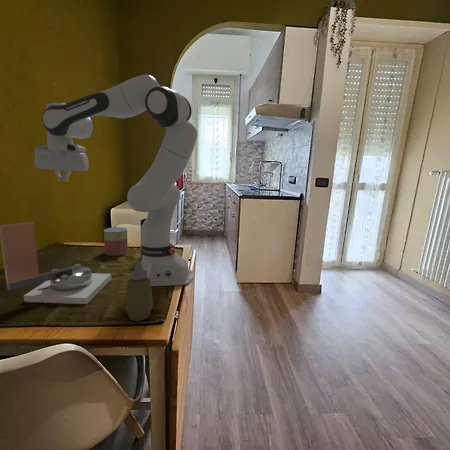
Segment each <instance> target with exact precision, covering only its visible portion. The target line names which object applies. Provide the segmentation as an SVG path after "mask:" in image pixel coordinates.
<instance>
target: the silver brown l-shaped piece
mask: <svg viewBox="0 0 450 450" xmlns="http://www.w3.org/2000/svg"><path fill="white" fill-rule="evenodd" d="M36 240H37V239H36V233H35V224H34V222H32V221H29V222H28V221H27V222H17V223H10V224H0V245H1V253H2V259H3V267H4V274H5V275H4V277H5V283H6V288H7V290H8V291H13V290H16V289H20V288H25V287H28V286H32V285H36V284H42V283H44V282H46V281H48V280H50V287H51V289H53V290H55V291H73V290H77V289H81V288H84V287H86V286H88V285H89V284H91V282H92V273H93V272H92V269H91V268H89V267H86V266H82V264H80V263H76V264H73V266H68V267H63V268H54V269H51V271H46V272H42V273H40V271H39V261H38V252H37V251H38V250H37V243H36V242H37V241H36Z"/></svg>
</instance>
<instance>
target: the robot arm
mask: <svg viewBox="0 0 450 450" xmlns="http://www.w3.org/2000/svg"><path fill="white" fill-rule="evenodd" d="M192 109H193V108H192V106H191V103H190V102H189V100H188V99H187V98H186V97H184V96H183V95H182V94H181V93H180V92H178V91H176V90H174V89H171V88H169V87H167V86H161V85H160V84H159V82H158V81H157V79H156V78H155V77H153V76H152V75H150V74H142V75H139V76H136V77H135V76H134V77H132V78H129V79H127V80H126V81H124V82H121V83H119V84H117V85H115V86H112V87H110V88H107V89H105V90H102V91H98V92H95V93H91V94H89V95H85V96H83V97H80V98H78V99H75V100H73V101H70V102H67V103H65V102H61V101H58V102H57V101H53V102H49V103H47V104H46V107H45V110H44V111H43V113H42V115H41V121H42V124H43V127H44V128H45V129H46V131H47V134H46V142H47V143H46V144H47V145H41V144H40V145H37V146H36V147H35V148H34V167H35V168H36V169H38V170H53V173H54V174H55V176H56V177H57V181H58V182H69V181H70V179H69V178H70V175H72V171H76V172H77V171H78V172H79V171H80V172H87V171H88V170H89V169H90V168H89V167H90V164H89V158H88V155H87V154H86V153H85V152H87V148H86V147H85V146H83V145H80V144H77V143H74V142H73V141H74V140H73V138H74V139H83V140H85V139H90V137H92V135H93V134H94V131H95V130H94V127H95V125H94V122H93V120H92V117H100V116H101V117H110V118H117V119H129V118H133V117H136V116H138V115H140V114H142V113H144V112H146V111H147V112H148V114H149V116H150V117H152V118H153V119H154V120H155V121H156V122H157V124H158V125H159V126H160V127H162V128H165V135H164V138H163V140H162V143H161V145H160V147H159V148H158V149H159V150H158V152H157V154H156V157H155V159H154V161H153V162H152V164H151V166H150V168H149V169H148V170H147V171H146V172H145V174H144V175H143V176H142V178H141V179H140V180H139V181H138V182H137V183H136V184H134V185H132V187H130V189H128V191H127V196H126V198H127V203H128V206H130V208H131V209H132V210H133V211H135V212H137V213H138V212H139V213H147V216H146V218H145V219H146V220H145V221H144V223H143V225H142V244H141V243H140V258H141V264H142V268H143V270H146V271H147V277H148V278H149V279H150V282H151V287H164V286H166V287H167V286H187V285H189V284H191V283H192V282H193V280H194V279H195V278H194V277H195V276H194V275H195V272H194V271H193V270H191V269H189V264H188V261H187V260H186V259H184V258H183V257H182V256H180V255H179V254H178V253H177V252H176V244H173V243H171V227H172V220H173V216H174V213H175V208H176V207H177V204H178V203H179V201H180V200H181V191H180V188H179V187H178V186H177V185H176V184H175V183H176V182H177V181H178V180H179V179H180V178H181V177H182V176H183V174H184V171H185V169H186V167H187V165H188V163H189V161H190V158H191V156H192V153H193V152H194V148H195V146H196V142H197V139H198V130H197V128H196V127H195V126H194V124H192V123H191V122H190V119H191V117H192V113H193V111H192ZM61 171H64V173H65V174H64V176H62V175H61Z"/></svg>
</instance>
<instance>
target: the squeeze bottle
mask: <svg viewBox="0 0 450 450" xmlns="http://www.w3.org/2000/svg"><path fill="white" fill-rule="evenodd" d="M141 262H142V259H136V262H135V266H134V270H132V271H130V278H128V279H127V282H126V293H125V310H126V313H127V316H128V318H129V319H130V320H131V321H134V322H141V321H144V320H146V319H148V318H149V317H150V316H151V313H152V310H153V306H154V301H153V299H154V298H153V291H152V286H151V282H150V279H149V278H148V277H147V271H146V270H143V268H142V264H141Z"/></svg>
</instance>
